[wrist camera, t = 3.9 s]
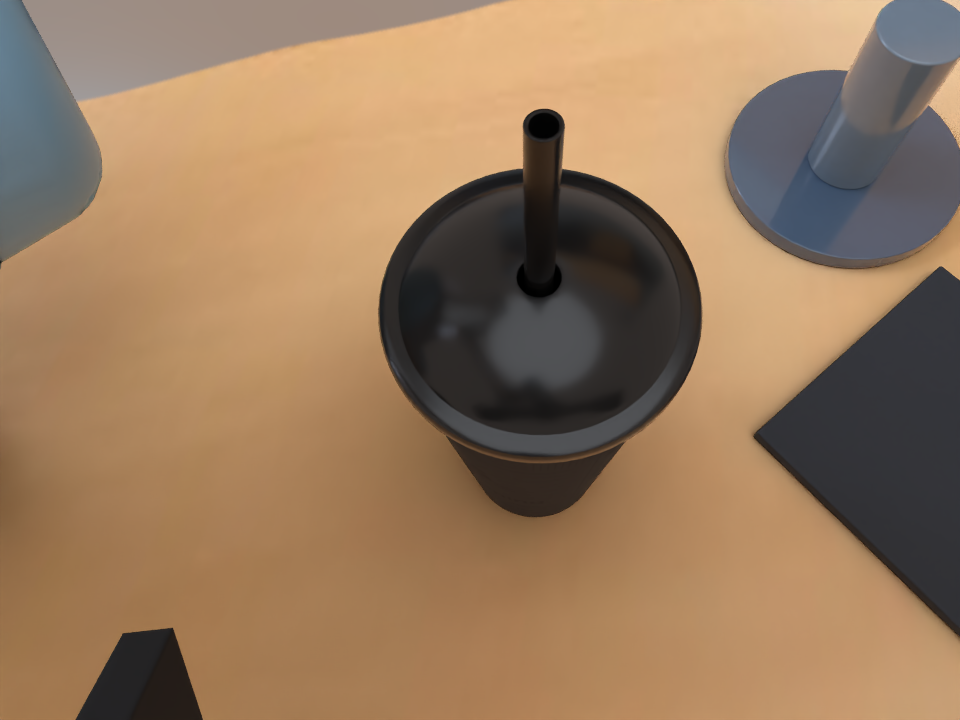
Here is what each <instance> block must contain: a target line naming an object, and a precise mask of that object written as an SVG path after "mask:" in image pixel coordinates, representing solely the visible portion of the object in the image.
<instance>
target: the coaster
mask: <svg viewBox="0 0 960 720" xmlns="http://www.w3.org/2000/svg"><path fill="white" fill-rule="evenodd" d="M754 438H755V439H756V440H757V441H758V442H760V443H761V444H762V445H763V446H764V447H765V448H766V449H767V450H768V451H769V452H770V453H771V454H772V455H773V456H774V457H775V458H776V459H777V460H778V461H779V462H780V463H781V464H782V465H783V466H784V467H785V468H786V469H787V470H788V471H789V472H791V473H792V474H793V475H794V476H795V477H796V478H797V479H798V480H799V481H800V482H801V483H802V484H803V485H804V486H805V487H806V488H807V489H808V490H809V491H810V492H811V493H812V494H813V495H814V496H815V497H816V498H817V499H818V500H819V501H820V502H821V503H823V504H824V505H825V506H826V507H827V508H828V509H829V510H830V511H831V512H832V513H833V514H834V515H835V516H836V517H837V518H838V519H839V520H840V521H841V522H842V523H843V524H844V525H845V526H846V527H847V528H848V529H849V530H850V531H851V532H852V533H854V534H855V535H856V536H857V537H858V538H859V539H860V540H861V541H862V542H863V543H864V544H865V545H866V546H867V547H868V548H869V549H870V550H871V551H872V552H873V553H874V554H875V555H876V556H877V557H878V558H879V559H880V560H881V561H882V562H883V563H884V564H886V565H887V566H888V567H889V568H890V569H891V570H892V571H893V572H894V573H895V574H896V575H897V576H898V577H899V578H900V579H901V580H902V581H903V582H904V583H905V584H906V585H907V586H908V587H909V588H910V589H911V590H912V591H913V592H914V593H915V594H917V595H918V596H919V597H920V598H921V599H922V600H923V601H924V602H925V603H926V604H927V605H928V606H929V607H930V608H931V609H932V610H933V611H934V612H935V613H936V614H937V615H938V616H939V617H940V618H941V619H942V620H943V621H944V622H945V623H946V624H947V625H949V626H950V627H951V628H952V629H953V630H954V631H955V632H956V633H957V634H958V635H959V636H960V280H958V279H957V278H956V277H955V276H953V275H952V274H951V273H949V272H948V271H947V270H946V269H944V268H943V267H942V266H941V267H939V268H938V269H936V270H935V271H934V272H933V273H932V274H931V275H930V276H929V277H928V278H927V279H925V280H924V281H923V282H922V283H921V284H920V285H919V286H918V287H917V288H915V289H914V290H913V291H912V292H911V293H910V294H909V295H908V296H907V297H905V298H904V299H903V300H902V301H901V302H900V303H899V304H898V305H897V306H896V307H894V308H893V309H892V310H891V311H890V312H889V313H888V314H887V315H886V316H884V317H883V318H882V319H881V320H880V321H879V322H878V323H877V324H876V325H874V326H873V327H872V328H871V329H870V330H869V331H868V332H867V333H866V334H865V335H863V336H862V337H861V338H860V339H859V340H858V341H857V342H856V343H855V344H853V345H852V346H851V347H850V348H849V349H848V350H847V351H846V352H845V353H843V354H842V355H841V356H840V357H839V358H838V359H837V360H836V361H835V362H833V363H832V364H831V365H830V366H829V367H828V368H827V369H826V370H825V371H824V372H822V373H821V374H820V375H819V376H818V377H817V378H816V379H815V380H814V381H812V382H811V383H810V384H809V385H808V386H807V387H806V388H805V389H804V390H802V391H801V392H800V393H799V394H798V395H797V396H796V397H795V398H794V399H793V400H791V401H790V402H789V403H788V404H787V405H786V406H785V407H784V408H783V409H781V410H780V411H779V412H778V413H777V414H776V415H775V416H774V417H773V418H771V419H770V420H769V421H768V422H767V423H766V424H765V425H764V426H763V427H762V428H760V429H759V430H758V431H757V432H756V433H755V434H754Z"/></svg>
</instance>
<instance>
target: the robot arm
mask: <svg viewBox="0 0 960 720" xmlns="http://www.w3.org/2000/svg"><path fill="white" fill-rule="evenodd" d="M101 178H102V159H101V152H100V149H99V146H98V143H97V141H96V139H95V137H94V134H93V132H92V131H91V129H90V127H89V125H88V123H87V121H86V119H85V117H84V115H83V114H82V112H81V110H80V108H79V106H78V104H77V102H76V100H75V99H74V97H73V95H72V93H71V91H70V89H69V87H68V86H67V84H66V82H65V80H64V78H63V76H62V75H61V73H60V71H59V69H58V67H57V65H56V63H55V61H54V60H53V58H52V56H51V54H50V52H49V50H48V48H47V47H46V45H45V43H44V41H43V39H42V37H41V35H40V34H39V32H38V30H37V28H36V26H35V24H34V23H33V21H32V19H31V17H30V15H29V13H28V11H27V10H26V8H25V6H24V4H23V2H22V0H0V269H1V263H2V262H3V261H5V260H7V259H8V258H10V257H12V256H13V255H15V254H17V253H19V252H20V251H22V250H24V249H25V248H27V247H29V246H30V245H32V244H34V243H35V242H37V241H39V240H40V239H42V238H44V237H45V236H47V235H49V234H51V233H52V232H54V231H56V230H57V229H59V228H61V227H62V226H64V225H66V224H67V223H69V222H71V221H72V220H74V219H76V218H77V217H78V216H79V215H81V214H82V212H83V211H84V210H85V209H86V208H87V207H88V206H89V205H90V204H91V202H92V201H93V199H94V197H95V194H96V192H97V189H98V186H99V183H100V181H101ZM76 720H203V718H202V715H201V712H200V709H199V706H198V703H197V700H196V697H195V694H194V691H193V688H192V685H191V682H190V679H189V676H188V672H187V669H186V666H185V663H184V660H183V657H182V654H181V651H180V648H179V645H178V642H177V639H176V636H175V633H174V630H173V628H168V629H159V630H150V631H141V632H131V633H123V634H122V636H121V638H120V640H119V642H118V643H117V645H116V647H115V649H114V651H113V652H112V654H111V656H110V658H109V660H108V662H107V663H106V665H105V667H104V669H103V671H102V672H101V674H100V676H99V678H98V680H97V682H96V683H95V685H94V687H93V689H92V691H91V692H90V694H89V696H88V698H87V700H86V702H85V703H84V705H83V707H82V709H81V711H80V712H79V714H78V716H77V718H76Z"/></svg>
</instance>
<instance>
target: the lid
mask: <svg viewBox="0 0 960 720" xmlns="http://www.w3.org/2000/svg"><path fill="white" fill-rule="evenodd" d="M959 60H960V12H959V11H958V10H957V9H956V8H955V7H953V6H952V5H950V4H948V3H946V2H944V1H942V0H894V1H892V2H890V3H889V4H887V5H886V6H885V7H884V8H883V9H882V10H881V11H880V12H879V14H878V16H877V18H876V20H875V22H874V24H873V25H872V27H871V29H870V31H869V33H868V35H867V37H866V39H865V41H864V43H863V45H862V47H861V48H860V50H859V52H858V54H857V56H856V58H855V60H854V62H853V64H852V66H851V68H850V70H849V71H841V70H821V71H813V72H806V73H802V74H797V75H793V76H791V77H788V78H785V79H782V80H780V81H778V82H776V83H774V84H772V85H770V86H768V87H767V88H765V89H764V90H762V91H761V92H759V93H758V94H757V95H756V96H755V97H754V98H753V99H752V100H750V101H749V102H748V104H747V105H746V106H745V107H744V108H743V110H742V111H741V113H740V114H739V116H738V118H737V119H736V121H735V124H734V126H733V129H732V131H731V134H730V137H729V139H728V142H727V147H726V151H725V174H726V179H727V183H728V187H729V190H730V192H731V195H732V197H733V199H734V202H735V203H736V205H737V207H738V208H739V210H740V211H741V213H742V214H743V216H744V217H745V218H746V219H747V221H748V222H749V223H750V224H751V225H752V226H753V227H754V228H755V229H756V230H757V231H758V232H759V233H760V234H761V235H762V236H764V237H765V238H766V239H768V240H769V241H770V242H772V243H773V244H775V245H776V246H778V247H780V248H781V249H783V250H785V251H786V252H789V253H791V254H793V255H795V256H797V257H800V258H802V259H805V260H808V261H811V262H814V263H818V264H823V265H827V266H832V267H841V268H868V267H877V266H882V265H886V264H890V263H894V262H897V261H899V260H902V259H904V258H907V257H909V256H911V255H913V254H914V253H916V252H918V251H920V250H921V249H923V248H924V247H925V246H927V245H928V244H929V243H930V242H932V241H933V239H934V238H935V237H936V236H937V235H938V234H939V233H940V232H941V231H942V230H943V229H944V228H945V227H946V226H947V224H948V223H949V222H950V220H951V219H952V217H953V216H954V214H955V213H956V211H957V208H958V206H959V204H960V149H959V147H958V144H957V142H956V139H955V138H954V136H953V134H952V133H951V131H950V129H949V128H948V126H947V125H946V124H945V123H944V121H943V120H942V119H941V117H940V116H939V115H938V114H937V113H936V112H935V111H934V110H933V109H932V108H931V107H930V106H928V105H929V104H930V102H931V101H932V99H933V98H934V96H935V95H936V93H937V92H938V91H939V89H940V88H941V86H942V85H943V83H944V82H945V80H946V79H947V78H948V76H949V75H950V73H951V72H952V70H953V69H954V67H955V66H956V64H957V63H958V62H959Z"/></svg>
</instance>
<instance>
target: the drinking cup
mask: <svg viewBox="0 0 960 720" xmlns="http://www.w3.org/2000/svg"><path fill="white" fill-rule="evenodd" d="M564 129H565V124H564V120H563V118H562V117H561V115H560V114H558V113H557V112H555V111H553V110H550V109H538V110H535V111H533V112H531V113H530V114H528V115H527V117H526V118H525V120H524V122H523V169H515V170H510V171H504V172H499V173H496V174H492V175H488V176H485V177H482V178H480V179H477V180H474V181H472V182H469V183H467V184H465V185H463V186H461V187H459V188H457V189H455V190H454V191H452V192H450V193H448V194H447V195H445V196H444V197H442V198H441V199H440V200H438V201H437V202H435V203H434V204H433V205H432V206H431V207H429V208H428V209H427V210H426V211H425V212H424V213H423V214H422V215H421V216H420V217H419V218H418V219H417V220H416V221H415V222H414V223H413V224H412V226H411V227H410V228H409V229H408V230H407V232H406V233H405V235H404V236H403V238H402V239H401V240H400V242H399V244H398V245H397V247H396V249H395V251H394V253H393V254H392V256H391V258H390V261H389V263H388V266H387V268H386V271H385V274H384V278H383V281H382V285H381V291H380V296H379V308H378V318H379V331H380V338H381V343H382V346H383V350H384V354H385V357H386V360H387V362H388V365H389V368H390V370H391V372H392V374H393V376H394V378H395V380H396V382H397V384H398V386H399V387H400V389H401V390H402V392H403V393H404V395H405V397H406V398H407V399H408V401H409V402H410V403H411V404H412V406H413V407H414V408H415V409H416V410H417V411H418V412H419V413H420V414H421V415H422V416H423V417H424V418H425V419H426V420H427V421H428V422H429V423H430V424H431V425H433V426H434V427H435V428H436V429H437V430H439V431H440V432H442V433H443V434H445V435H446V437H447V438H448V440H449V441H450V442H451V444H452V445H453V447H454V448H455V450H456V451H457V452H458V454H459V455H460V457H461V458H462V460H463V461H464V463H465V464H466V465H467V467H468V468H469V470H470V471H471V473H472V474H473V476H474V477H475V478H476V480H477V481H478V483H479V484H480V486H481V487H482V488H483V490H484V491H485V493H486V494H487V495H488V496H489V497H490V498H491V499H492V500H493V501H494V502H495V503H496V504H498V505H499V506H500V507H502V508H504V509H505V510H507V511H510V512H512V513H515V514H518V515H522V516H527V517H543V516H549V515H553V514H556V513H559V512H561V511H563V510H565V509H567V508H569V507H570V506H571V505H573V504H574V503H575V502H576V501H578V500H579V499H580V498H581V497H582V495H583V494H584V493H585V492H586V490H587V489H588V488H589V487H590V485H591V484H592V483H593V482H594V480H595V479H596V478H597V477H598V475H599V474H600V473H601V471H602V470H603V469H604V468H605V466H606V465H607V464H608V463H609V461H610V460H611V459H612V458H613V456H614V455H615V454H616V453H617V451H618V450H619V449H620V448H621V446H622V445H623V444H624V443H625V441H627V440H628V439H630V438H632V437H633V436H635V435H636V434H638V433H639V432H641V431H642V430H643V429H644V428H646V427H647V426H648V425H649V424H651V423H652V422H653V421H654V420H655V419H656V418H657V417H658V416H659V415H660V414H661V413H662V412H663V411H664V410H665V409H666V408H667V406H668V405H669V404H670V403H671V401H672V400H673V399H674V397H675V396H676V394H677V393H678V391H679V390H680V388H681V387H682V385H683V383H684V381H685V380H686V377H687V375H688V373H689V371H690V369H691V367H692V365H693V362H694V359H695V356H696V353H697V350H698V345H699V342H700V337H701V329H702V301H701V292H700V288H699V283H698V279H697V276H696V273H695V270H694V267H693V265H692V262H691V260H690V258H689V255H688V254H687V252H686V250H685V248H684V247H683V245H682V243H681V241H680V240H679V238H678V237H677V235H676V234H675V233H674V231H673V230H672V229H671V227H670V226H669V225H668V224H667V223H666V222H665V220H664V219H663V218H662V217H661V216H660V215H659V214H658V213H656V212H655V211H654V210H653V209H652V208H651V207H650V206H649V205H647V204H646V203H645V202H643V201H642V200H641V199H639V198H638V197H636V196H635V195H633V194H632V193H630V192H628V191H627V190H625V189H623V188H621V187H619V186H617V185H615V184H613V183H611V182H608V181H606V180H604V179H601V178H598V177H595V176H592V175H589V174H585V173H580V172H576V171H571V170H564V169H562V158H563V143H564Z"/></svg>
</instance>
